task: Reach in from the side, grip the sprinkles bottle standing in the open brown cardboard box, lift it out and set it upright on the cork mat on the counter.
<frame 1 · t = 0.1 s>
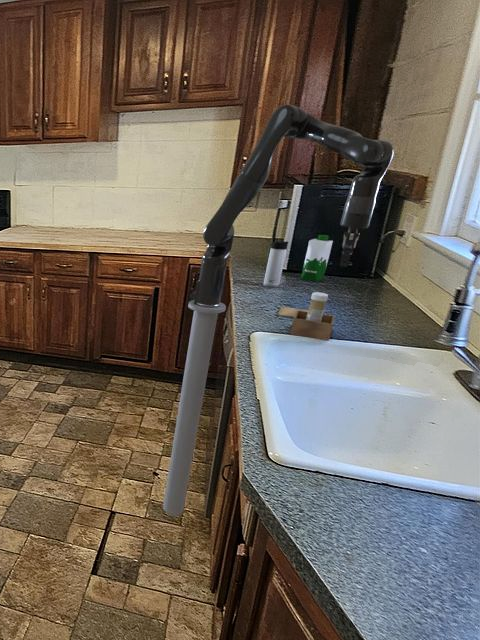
hand: (343, 263, 167), 23 cm above the worktop, tool pointing down, fingers open, 8 cm apart
milk carton: (311, 279, 246), on the worktop
cork mat: (297, 314, 196), on the worktop
travel mug: (271, 286, 234), on the worktop
cardboard box: (310, 332, 176), on the worktop
sprinkles bottle: (310, 333, 176), resting in cardboard box
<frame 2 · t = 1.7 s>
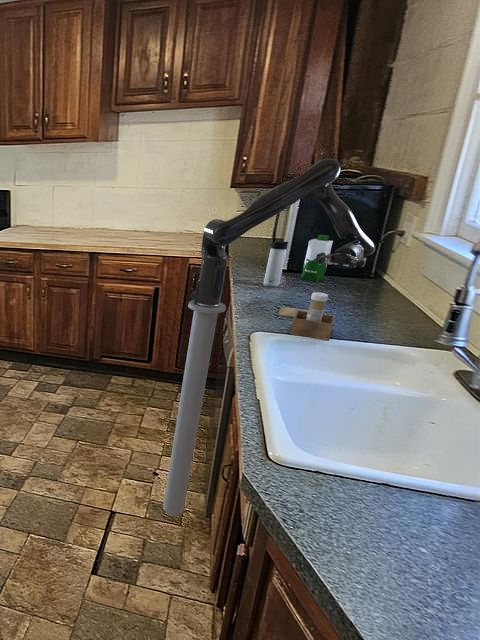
hand: (335, 263, 175), 22 cm above the worktop, tool horizontal, fingers open, 8 cm apart
nothing on the worktop moved.
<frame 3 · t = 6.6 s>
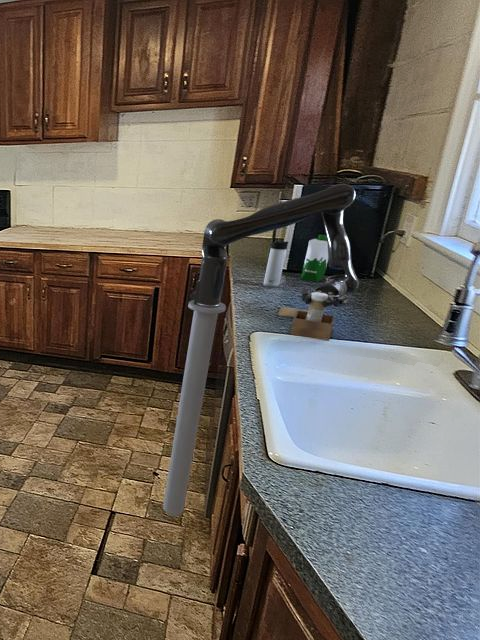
hand: (316, 302, 170), 11 cm above the worktop, tool horizontal, fingers closed on sprinkles bottle, 4 cm apart
sprinkles bottle: (310, 333, 176), resting in cardboard box, touching gripper
everything else where it was.
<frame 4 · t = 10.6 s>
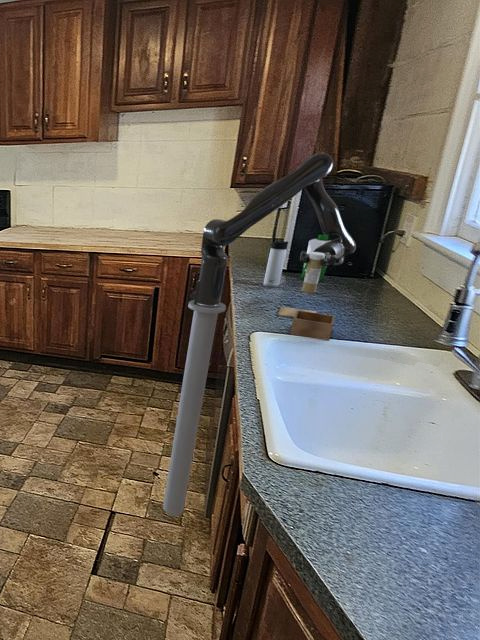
hand: (313, 261, 178), 22 cm above the worktop, tool horizontal, fingers closed on sprinkles bottle, 4 cm apart
sprinkles bottle: (308, 292, 184), point 10 cm above the worktop, touching gripper
everything else where it was.
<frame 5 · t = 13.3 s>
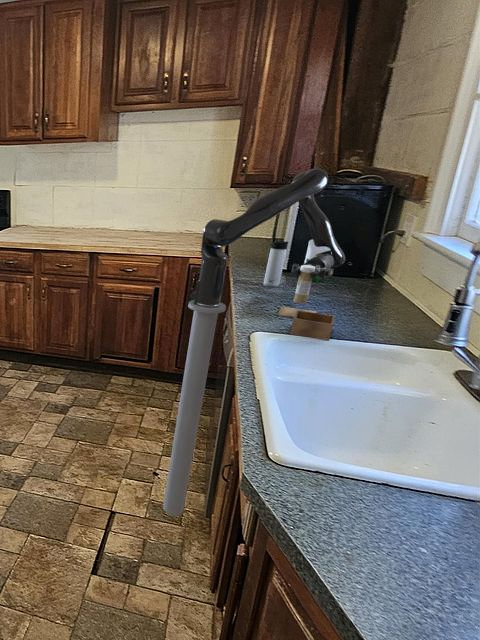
hand: (304, 274, 188), 15 cm above the worktop, tool horizontal, fingers closed on sprinkles bottle, 4 cm apart
sprinkles bottle: (299, 302, 194), point 4 cm above the worktop, touching gripper
everything else where it was.
when the fingers open (11 cm above the worktop, at t = 14.9 s): sprinkles bottle stays where it is, resting on cork mat.
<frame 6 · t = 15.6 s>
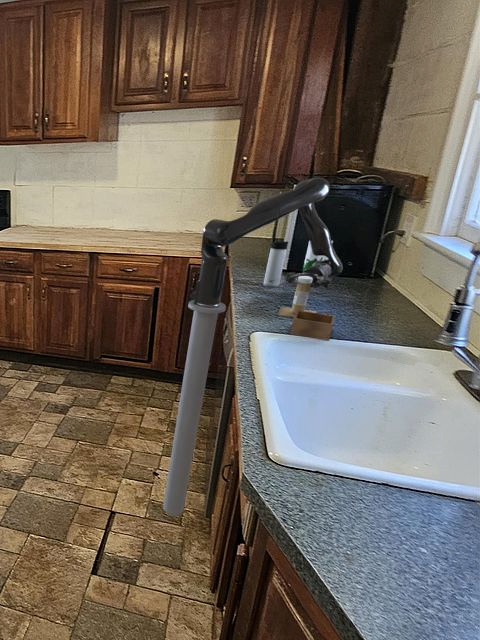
hand: (303, 282, 190), 12 cm above the worktop, tool horizontal, fingers open, 8 cm apart
sprinkles bottle: (297, 313, 196), resting on cork mat
everything else where it was.
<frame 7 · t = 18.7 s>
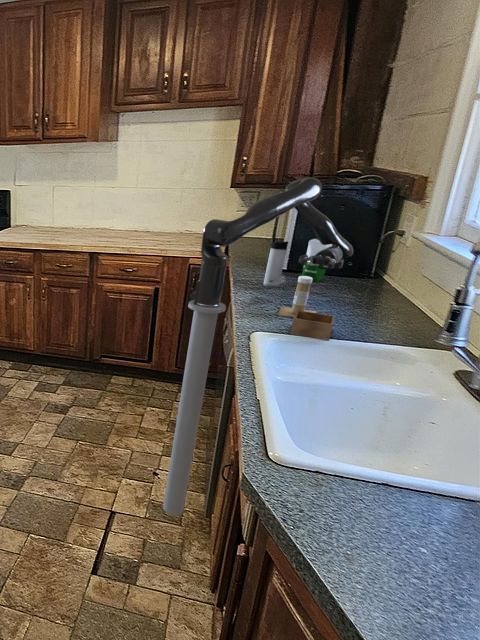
hand: (316, 264, 196), 17 cm above the worktop, tool horizontal, fingers open, 8 cm apart
nothing on the worktop moved.
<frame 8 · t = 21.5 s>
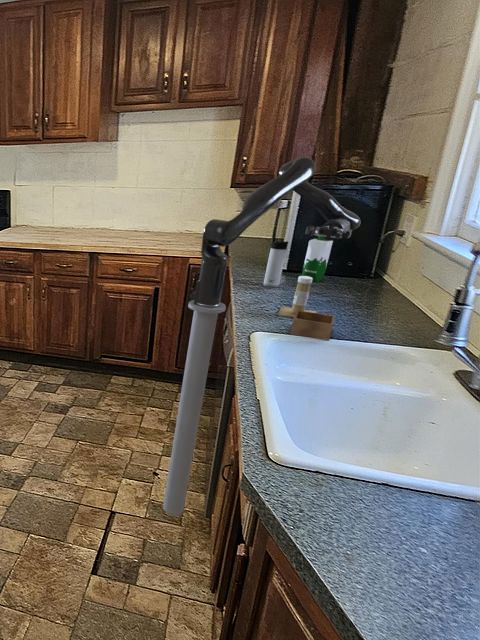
hand: (323, 234, 192), 28 cm above the worktop, tool horizontal, fingers open, 8 cm apart
nothing on the worktop moved.
at the end: sprinkles bottle inside the target area on the cork mat (0.2 cm from its centre), point 0.3 cm above the cork mat's base; sprinkles bottle tilted 0°; the gripper is holding nothing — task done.
